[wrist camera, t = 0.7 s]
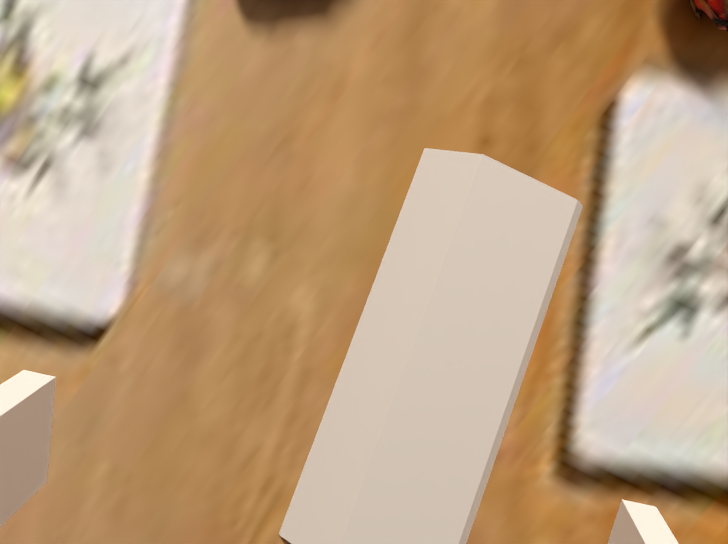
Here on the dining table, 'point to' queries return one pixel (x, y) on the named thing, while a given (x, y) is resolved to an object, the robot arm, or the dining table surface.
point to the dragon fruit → (713, 11)
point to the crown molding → (435, 358)
